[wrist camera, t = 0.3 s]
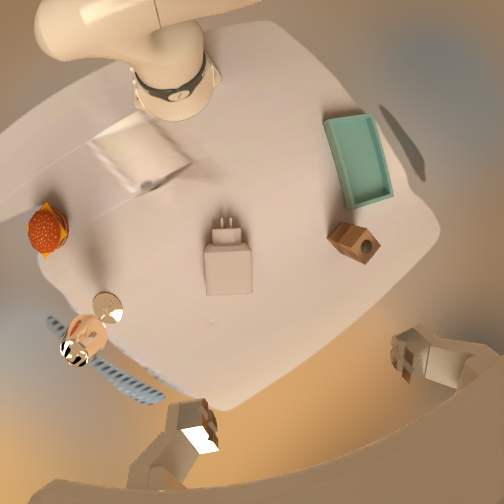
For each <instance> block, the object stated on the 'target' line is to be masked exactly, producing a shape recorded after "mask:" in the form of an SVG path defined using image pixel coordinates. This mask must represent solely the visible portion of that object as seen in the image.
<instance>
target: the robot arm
mask: <svg viewBox="0 0 504 504" xmlns="http://www.w3.org/2000/svg"><path fill="white" fill-rule="evenodd" d="M261 1H262V0H155V3H156V7H157V8H155V4H154V0H43V1H42V2H41V4H40V5H39V8H38V10H37V13H36V16H35V21H34V33H35V37H36V41H37V43H38V45H39V47H40V48H41V49H42V50H43V51H44V52H45V53H46V54H47V55H49V56H50V57H52V58H54V59H56V60H59V61H70V60H75V59H81V58H91V57H98V58H109V59H115V60H119V61H123V62H126V63H128V64H130V69H131V72H132V73H134V75H133V79H132V81H133V103H134V106H135V108H137V109H141V110H146V111H149V112H150V113H151V114H153V115H154V116H156V117H158V118H160V119H163V120H167V121H179V120H184V119H187V118H189V117H192V116H193V115H195V114H197V113H198V112H199V111H200V110H202V109H203V108H204V106H205V105H206V104H207V102H208V100H209V98H210V96H211V93H212V91H213V89H214V88H215V87H216V86H217V85H218V84H219V83H220V82H221V75H220V74H219V72H218V70H217V69H216V67H215V66H214V64H213V62H212V61H211V59H210V58H209V56H208V54H207V53H206V51H205V50H204V48H203V38H204V37H203V31H202V29H201V27H200V25H199V24H198V23H197V22H196V21H195V20H194V19H197V18H202V17H207V16H212V15H218V14H222V13H225V12H229V11H232V10H235V9H239V8H242V7H245V6H249V5H252V4H256V3H259V2H261ZM214 74H215V75H214ZM138 98H139V99H138ZM391 345H392V346H393V348H392V350H391V352H390V358H391V362H392V364H393V366H394V368H395V369H396V370H398V371H401V372H402V377H403V378H404V379H405V380H406V381H407V382H408V384H409V385H410V384H412V383H414V382H416V381H418V380H420V379H422V378H423V377H425V378H427V379H430V380H433V381H436V382H439V383H441V384H444V385H447V386H450V387H452V388H455V389H457V390H456V393H455V395H454V396H452V397H451V398H449V399H448V400H446V401H445V402H443V403H442V404H441V405H439V406H437V407H436V408H435V409H433V410H431V411H430V412H428V413H426V414H425V415H423V416H421V417H420V418H418V419H416V420H415V421H413V422H411V423H409V424H408V425H406V426H404V427H402V428H400V429H399V430H397V431H395V432H393V433H391V434H389V435H387V436H385V437H383V438H381V439H379V440H377V441H374V442H372V443H370V444H368V445H366V446H363V447H361V448H359V449H357V450H354V451H352V452H349V453H347V454H344V455H342V456H339V457H336V458H334V459H331V460H328V461H325V462H322V463H320V464H316V465H313V466H310V467H307V468H303V469H301V470H297V471H293V472H290V473H285V474H282V475H277V476H274V477H269V478H264V479H260V480H255V481H250V482H244V483H238V484H231V485H224V486H216V487H207V488H197V489H196V488H195V489H187V488H186V487H185V486H184V485H183V484H182V482H183V481H184V479H185V477H186V476H187V474H188V473H189V471H190V469H191V468H192V466H193V464H194V463H195V461H196V459H197V458H198V456H199V454H200V453H206V452H211V451H217V450H219V448H218V438H217V436H216V434H215V433H216V432H217V422H216V418H215V416H214V414H213V412H212V411H211V410H210V409H208V403H207V401H206V399H204V398H202V399H195V400H189V401H182V402H177V403H170V404H169V406H168V412H167V420H166V426H165V432H161V433H160V435H159V436H158V437H157V438H156V439H155V440H154V441H153V442H152V443H151V444H150V445H149V446H148V448H147V449H146V450H145V451H144V452H143V453H142V454H141V455H140V456H139V457H138V459H137V460H135V461H134V463H133V464H132V465H131V466H130V469H129V474H128V481H127V486H126V489H125V488H114V487H104V486H97V485H90V484H84V483H78V482H73V481H68V480H63V479H54V480H53V481H51V482H50V483H48V484H46V485H45V486H44V487H42V488H41V489H40V490H38V491H37V492H36V493H35V494H34V495H33V496H32V497H31V499H30V501H29V503H28V504H504V355H503V356H502V357H501V356H499V354H497V353H496V352H495V351H493V350H492V349H491V348H489V347H488V346H487V345H485V344H478V343H471V342H465V341H458V340H451V339H446V338H443V339H440V338H439V337H438V336H436V335H435V334H434V333H433V332H431V331H430V330H429V329H427V328H426V327H425V326H424V325H422V324H420V323H418V324H416V325H414V326H413V327H411V328H409V329H407V330H405V331H403V332H401V333H399V334H397V335H395V336H393V337H392V338H391Z"/></svg>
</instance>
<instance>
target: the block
mask: <svg viewBox="0 0 504 504" xmlns="http://www.w3.org/2000/svg"><path fill="white" fill-rule="evenodd" d="M327 239H328V240H329V241H330V242H331V243H332V244H333V246H334V247H335V248H336V249H337V250H338V251H339V252H340V253H341V254H344V255H346V256H348V257H350V258H352V259H354V260H356V261H358V262H360V263H363V264H365V265H366V263H367V262H368V261H369V260H370V259H371V257H372V256H373V255H374V254H375V252H376V251H377V250H378V249H379V248H380V246H381V245H380V244H379V243H378V242H377V240H376V239H375V238H374V236H373V235H372V234H371V233H370V231H369V230H368V229H367V228H363V227H359V226H355V225H351V224H347V223H343V222H341V223H340V224H339V225H338V226H337V228H336V229H335V230H334V231H333V232H332V233H331V235H330V236H329V237H328V238H327Z"/></svg>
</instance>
